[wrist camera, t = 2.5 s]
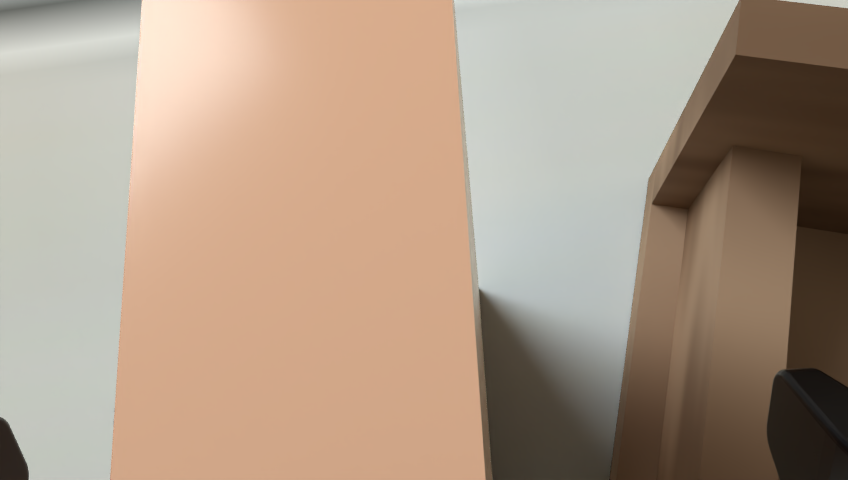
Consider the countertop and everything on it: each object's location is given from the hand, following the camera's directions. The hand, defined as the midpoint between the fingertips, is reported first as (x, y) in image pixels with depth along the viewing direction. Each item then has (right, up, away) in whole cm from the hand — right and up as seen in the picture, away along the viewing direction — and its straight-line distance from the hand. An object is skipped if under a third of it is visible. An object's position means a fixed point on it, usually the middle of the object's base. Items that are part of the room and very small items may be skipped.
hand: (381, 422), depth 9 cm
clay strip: (+1, -1, +9) cm, 9 cm away
